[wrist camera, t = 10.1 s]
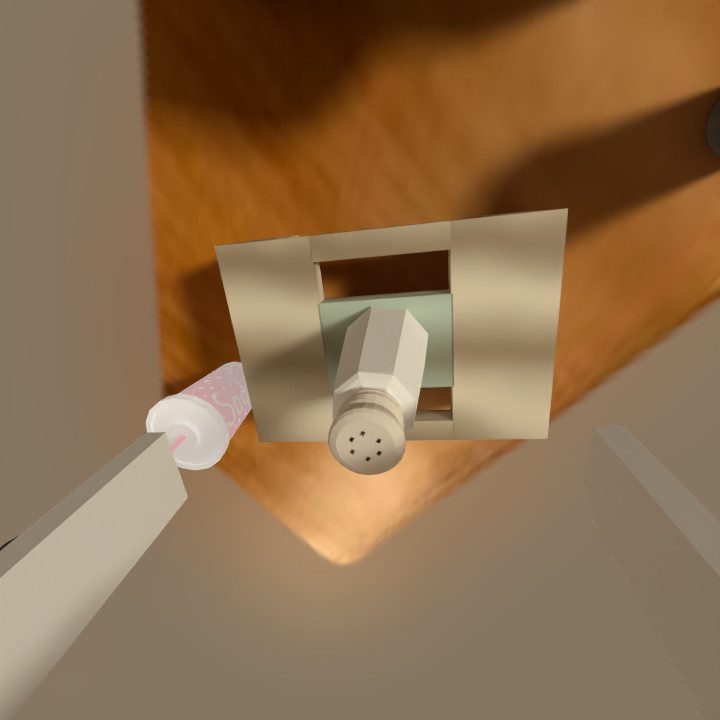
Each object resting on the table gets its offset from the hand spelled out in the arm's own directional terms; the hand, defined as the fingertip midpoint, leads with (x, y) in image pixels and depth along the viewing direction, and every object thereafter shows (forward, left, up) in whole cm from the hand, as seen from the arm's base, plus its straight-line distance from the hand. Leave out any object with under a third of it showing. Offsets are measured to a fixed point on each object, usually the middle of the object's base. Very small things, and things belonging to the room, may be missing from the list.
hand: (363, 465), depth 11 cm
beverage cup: (+6, -15, -21) cm, 26 cm away
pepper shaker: (0, 0, -13) cm, 13 cm away
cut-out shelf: (0, 0, -20) cm, 20 cm away
